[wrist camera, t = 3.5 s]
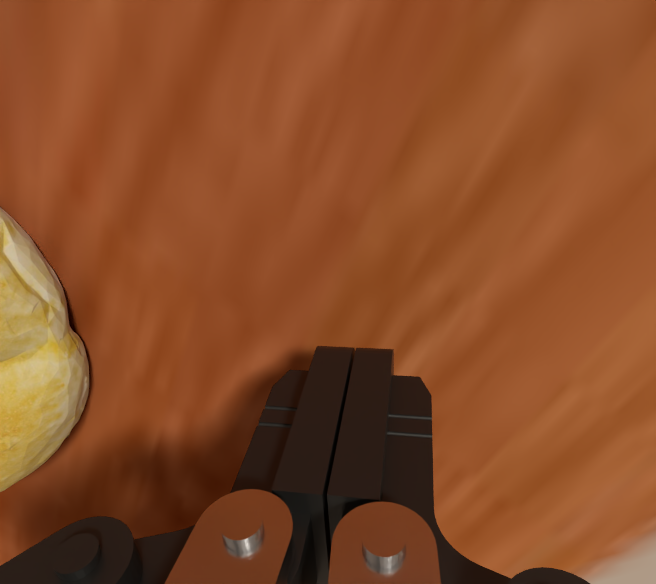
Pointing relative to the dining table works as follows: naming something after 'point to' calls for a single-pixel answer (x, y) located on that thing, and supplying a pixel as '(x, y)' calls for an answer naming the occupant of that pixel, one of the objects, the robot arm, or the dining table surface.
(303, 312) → the dining table surface
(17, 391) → the bread roll
